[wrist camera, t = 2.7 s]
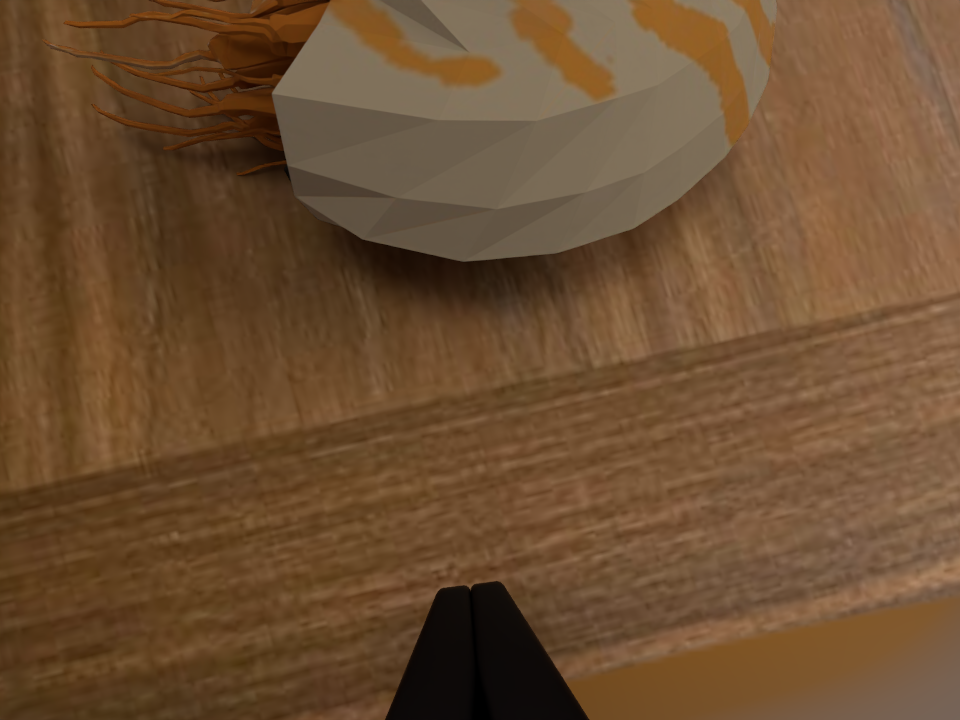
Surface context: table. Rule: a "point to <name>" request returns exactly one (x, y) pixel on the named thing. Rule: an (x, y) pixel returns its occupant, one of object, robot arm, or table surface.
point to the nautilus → (476, 109)
